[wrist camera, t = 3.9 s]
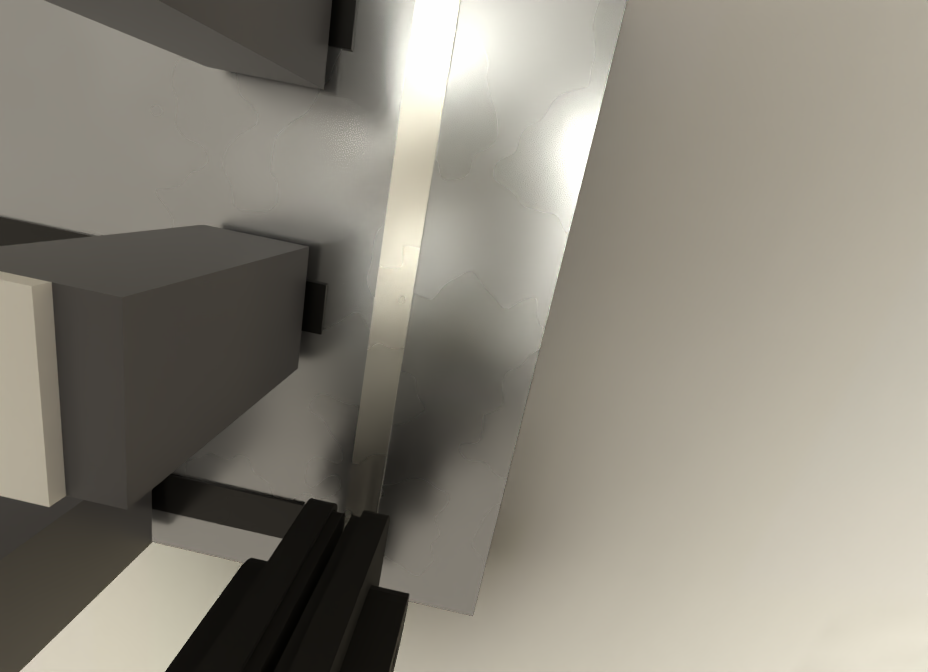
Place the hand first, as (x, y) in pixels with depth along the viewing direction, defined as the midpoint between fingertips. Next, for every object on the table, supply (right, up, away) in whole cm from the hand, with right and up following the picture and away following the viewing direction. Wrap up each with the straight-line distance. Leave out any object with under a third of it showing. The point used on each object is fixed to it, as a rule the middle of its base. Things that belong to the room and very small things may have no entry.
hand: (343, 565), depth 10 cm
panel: (-3, +6, +1) cm, 7 cm away
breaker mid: (-1, +5, -1) cm, 6 cm away
